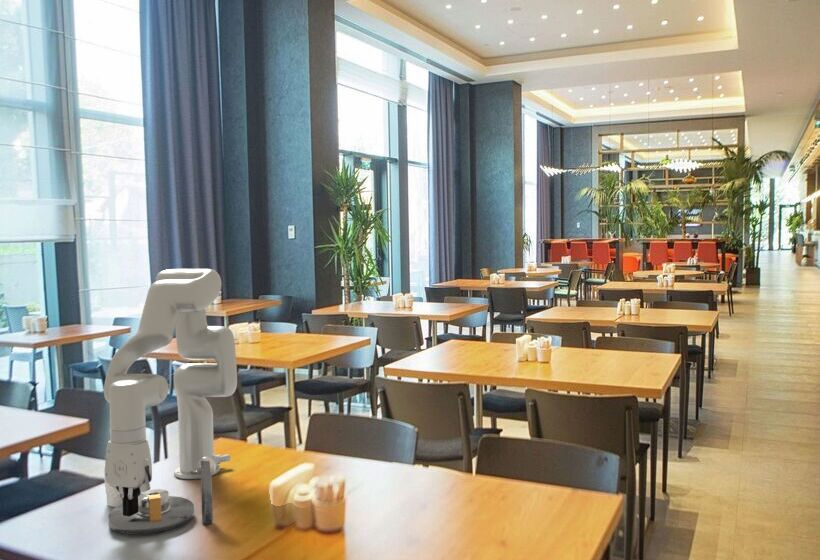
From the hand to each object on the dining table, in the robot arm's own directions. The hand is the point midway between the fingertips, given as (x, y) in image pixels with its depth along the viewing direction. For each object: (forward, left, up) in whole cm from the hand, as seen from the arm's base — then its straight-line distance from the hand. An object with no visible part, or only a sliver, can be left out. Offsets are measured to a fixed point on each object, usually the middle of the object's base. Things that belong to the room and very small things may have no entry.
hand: (130, 513), depth 164 cm
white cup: (-3, -20, -4) cm, 21 cm away
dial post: (-15, +7, -4) cm, 17 cm away
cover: (-6, -2, -1) cm, 6 cm away
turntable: (-5, -2, -4) cm, 7 cm away
